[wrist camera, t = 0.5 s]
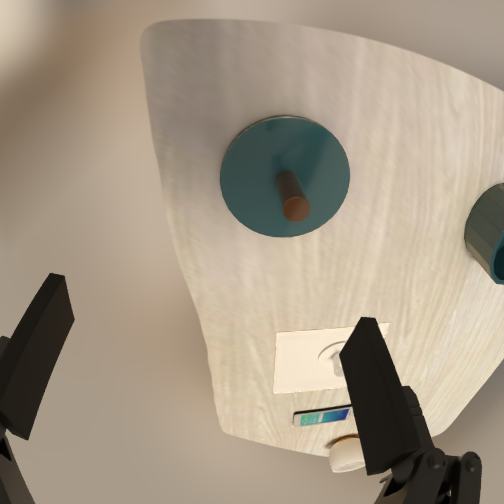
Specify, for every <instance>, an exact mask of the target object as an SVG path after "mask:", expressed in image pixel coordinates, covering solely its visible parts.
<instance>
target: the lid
mask: <svg viewBox="0 0 504 504" xmlns="http://www.w3.org/2000/svg"><path fill="white" fill-rule="evenodd" d="M349 181H350V168H349V163H348V159H347V156H346V153H345V151H344V149H343V147H342V146H341V144H340V143H339V141H338V140H337V139H336V138H335V137H334V136H333V134H332V133H330V132H329V131H328V130H327V129H325V128H324V127H323V126H321V125H319V124H318V123H316V122H313V121H311V120H308V119H305V118H301V117H295V116H279V117H272V118H269V119H265V120H262V121H260V122H258V123H255V124H254V125H252V126H250V127H249V128H247V129H246V130H245V131H243V132H242V133H241V134H240V135H239V136H238V137H237V138H236V139H235V140H234V142H233V143H232V144H231V146H230V147H229V149H228V151H227V153H226V155H225V157H224V160H223V163H222V168H221V176H220V183H221V190H222V195H223V198H224V200H225V203H226V205H227V207H228V208H229V210H230V211H231V213H232V214H233V215H234V216H235V217H236V219H237V220H238V221H239V222H241V223H242V224H243V225H245V226H246V227H248V228H249V229H251V230H253V231H255V232H257V233H260V234H263V235H266V236H272V237H294V236H299V235H303V234H306V233H309V232H311V231H313V230H315V229H317V228H319V227H320V226H322V225H323V224H325V223H326V222H327V221H328V220H330V219H331V218H332V217H333V216H334V215H335V213H336V212H337V211H338V210H339V208H340V207H341V205H342V203H343V201H344V199H345V197H346V194H347V192H348V187H349Z"/></svg>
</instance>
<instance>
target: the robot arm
mask: <svg viewBox="0 0 504 504" xmlns="http://www.w3.org/2000/svg"><path fill="white" fill-rule="evenodd" d="M74 320H75V319H74V315H73V312H72V308H71V303H70V299H69V295H68V290H67V285H66V281H65V276H63V275H59V274H54V273H50V274H49V275H48V277H47V278H46V280H45V281H44V283H43V284H42V286H41V287H40V289H39V291H38V292H37V294H36V295H35V297H34V299H33V300H32V302H31V304H30V305H29V307H28V308H27V310H26V312H25V314H24V315H23V317H22V319H21V321H20V322H19V324H18V326H17V328H16V329H15V331H14V333H13V335H12V337H11V338H8V337H5V336H1V337H0V504H35V502H34V500H33V498H32V496H31V494H30V492H29V490H28V488H27V486H26V484H25V481H24V479H23V477H22V475H21V472H20V470H19V468H18V465H17V463H16V460H15V458H14V455H13V453H12V450H11V447H10V445H9V442H8V439H7V437H6V435H5V432H6V429H8V430H9V431H10V432H11V433H12V434H13V435H16V436H18V437H20V438H23V439H25V440H28V439H29V436H30V433H31V430H32V427H33V424H34V420H35V418H36V415H37V411H38V409H39V406H40V403H41V400H42V397H43V395H44V392H45V389H46V387H47V384H48V381H49V379H50V376H51V373H52V371H53V368H54V366H55V364H56V361H57V359H58V356H59V354H60V352H61V349H62V347H63V345H64V342H65V340H66V337H67V335H68V333H69V331H70V329H71V327H72V324H73V322H74ZM339 358H340V361H341V365H342V369H343V373H344V377H345V380H346V384H347V388H348V392H349V396H350V400H351V404H352V409H353V413H354V417H355V421H356V425H357V430H358V434H359V438H360V443H361V447H362V452H363V457H364V461H365V466H366V471H367V475H368V476H369V475H374V474H380V473H384V472H385V471H387V470H388V469H390V468H391V470H392V473H391V474H389V475H388V476H386V477H384V478H382V479H381V481H380V483H382V482H384V481H386V480H387V481H386V483H385V484H384V486H383V488H382V490H381V492H380V494H379V496H378V498H377V499H376V501H375V503H374V504H479V501H480V490H481V474H482V473H481V472H482V464H481V460H480V457H479V456H478V455H477V454H476V453H474V452H467V453H465V454H464V455H462V456H461V457H458V456H449V455H445V453H444V452H443V451H442V450H441V449H439V448H435V447H434V445H433V442H432V440H431V436H430V433H429V430H428V427H427V424H426V421H425V418H424V415H422V414H423V413H422V410H421V407H420V404H419V401H418V399H417V396H416V394H415V393H414V392H413V390H412V389H411V388H410V386H402V385H401V382H400V380H399V377H398V374H397V372H396V369H395V366H394V364H393V361H392V358H391V356H390V353H389V351H388V348H387V346H386V343H385V341H384V338H383V336H382V333H381V331H380V328H379V326H378V323H377V321H376V319H375V318H370V317H361V318H360V320H359V321H358V323H357V325H356V327H355V328H354V330H353V332H352V333H351V335H350V337H349V338H348V340H347V342H346V343H345V345H344V347H343V348H342V350H341V352H340V353H339ZM450 491H451V496H450Z"/></svg>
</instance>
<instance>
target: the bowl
mask: <svg viewBox="0 0 504 504" xmlns="http://www.w3.org/2000/svg"><path fill="white" fill-rule="evenodd" d="M465 243H466V247H467V249H468V251H469V252H470V253H471V254H472V256H473V257H474V258H475V259H476V260H477V261H478V263H479V264H480V265H481V266H482V267H483V269H484V270H485V271H486V272H487V274H488V275H489V276H490V277H491V278H492V280H493V281H494V282H495V283H496V284H502V285H504V184H498V185H496V186H493V187H492V188H490V189H489V190H487V191H486V192H485V193H484V194H483V195H482V196H481V197H480V198H479V200H478V201H477V202H476V204H475V205H474V207H473V209H472V211H471V213H470V215H469V218H468V220H467V224H466V228H465Z"/></svg>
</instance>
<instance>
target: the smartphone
mask: <svg viewBox="0 0 504 504" xmlns="http://www.w3.org/2000/svg"><path fill="white" fill-rule="evenodd" d="M352 415H353V409H352V405H347V406H341V407H334V408H327V409H320V410H312V411H304V412H296V413H294V418H293V426H294V427H299V426H308V425H316V424H323V423H330V422H337V421H343V420H348V419H351V417H352Z"/></svg>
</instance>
